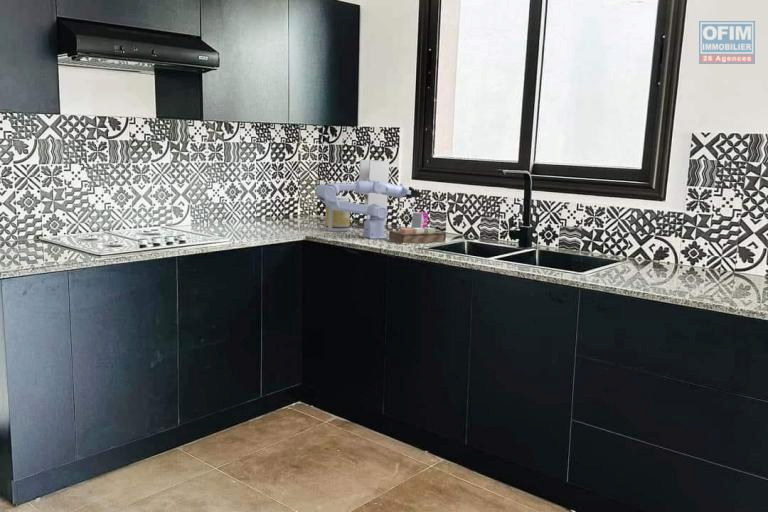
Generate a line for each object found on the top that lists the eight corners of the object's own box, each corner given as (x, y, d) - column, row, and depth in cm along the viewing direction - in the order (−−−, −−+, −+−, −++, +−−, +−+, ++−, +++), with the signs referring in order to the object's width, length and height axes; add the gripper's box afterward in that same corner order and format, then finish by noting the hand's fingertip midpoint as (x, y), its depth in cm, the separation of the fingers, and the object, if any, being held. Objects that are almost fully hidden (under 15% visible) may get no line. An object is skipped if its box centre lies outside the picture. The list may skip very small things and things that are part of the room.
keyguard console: (402, 244, 313) (403, 234, 312) (388, 239, 323) (389, 230, 322) (445, 242, 326) (445, 233, 325) (430, 238, 336) (431, 229, 335)
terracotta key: (404, 237, 317) (405, 229, 317) (399, 235, 321) (399, 228, 320) (412, 236, 320) (413, 229, 319) (407, 235, 323) (407, 228, 323)
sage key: (427, 236, 324) (428, 228, 324) (422, 234, 328) (422, 227, 327) (435, 235, 327) (435, 228, 326) (429, 234, 330) (430, 227, 330)
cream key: (416, 236, 321) (416, 229, 320) (411, 235, 324) (411, 227, 324) (424, 236, 323) (424, 229, 323) (418, 235, 327) (419, 227, 326)
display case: (375, 226, 369) (378, 160, 363) (385, 229, 360) (389, 161, 354) (356, 226, 363) (360, 159, 357) (366, 229, 354) (370, 161, 348)
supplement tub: (353, 230, 348) (355, 197, 345) (341, 233, 337) (342, 198, 334) (333, 227, 353) (334, 195, 350) (320, 230, 342) (321, 196, 340)
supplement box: (420, 236, 340) (421, 213, 338) (410, 234, 343) (411, 212, 341) (426, 235, 344) (428, 212, 342) (417, 234, 348) (418, 211, 346)
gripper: (400, 181, 321) (425, 186, 328) (386, 182, 334) (410, 186, 340) (398, 196, 321) (422, 201, 328) (383, 196, 334) (407, 200, 341)
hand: (416, 194), depth 334 cm, fingers open, 7 cm apart
